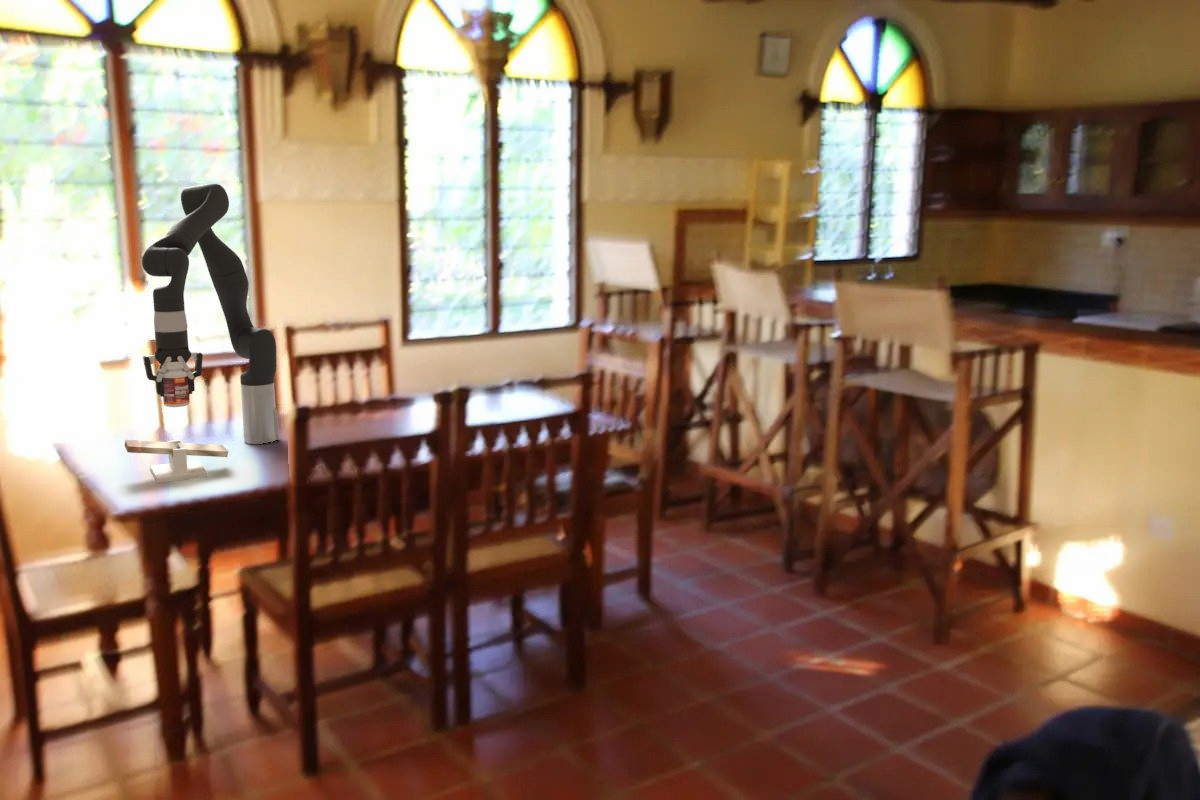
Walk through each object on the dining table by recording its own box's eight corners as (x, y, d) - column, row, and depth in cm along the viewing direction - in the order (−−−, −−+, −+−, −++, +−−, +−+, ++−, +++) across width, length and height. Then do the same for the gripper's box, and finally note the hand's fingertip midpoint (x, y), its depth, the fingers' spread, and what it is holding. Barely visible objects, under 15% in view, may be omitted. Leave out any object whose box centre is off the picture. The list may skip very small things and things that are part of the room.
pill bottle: (179, 408, 261) (176, 363, 259) (158, 406, 263) (154, 362, 260) (195, 403, 267) (192, 359, 265) (174, 401, 268) (171, 358, 266)
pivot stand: (198, 463, 282) (196, 436, 280) (207, 476, 270) (205, 448, 268) (150, 469, 276) (148, 441, 274) (157, 482, 264) (155, 453, 263)
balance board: (221, 450, 281) (222, 444, 281) (227, 458, 274) (228, 451, 274) (124, 445, 269) (125, 439, 269) (127, 453, 262) (128, 446, 262)
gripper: (198, 325, 268) (202, 389, 271) (137, 328, 260) (142, 395, 264) (204, 328, 261) (208, 394, 265) (141, 332, 254) (147, 400, 257)
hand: (175, 394), depth 264 cm, fingers closed on pill bottle, 6 cm apart
